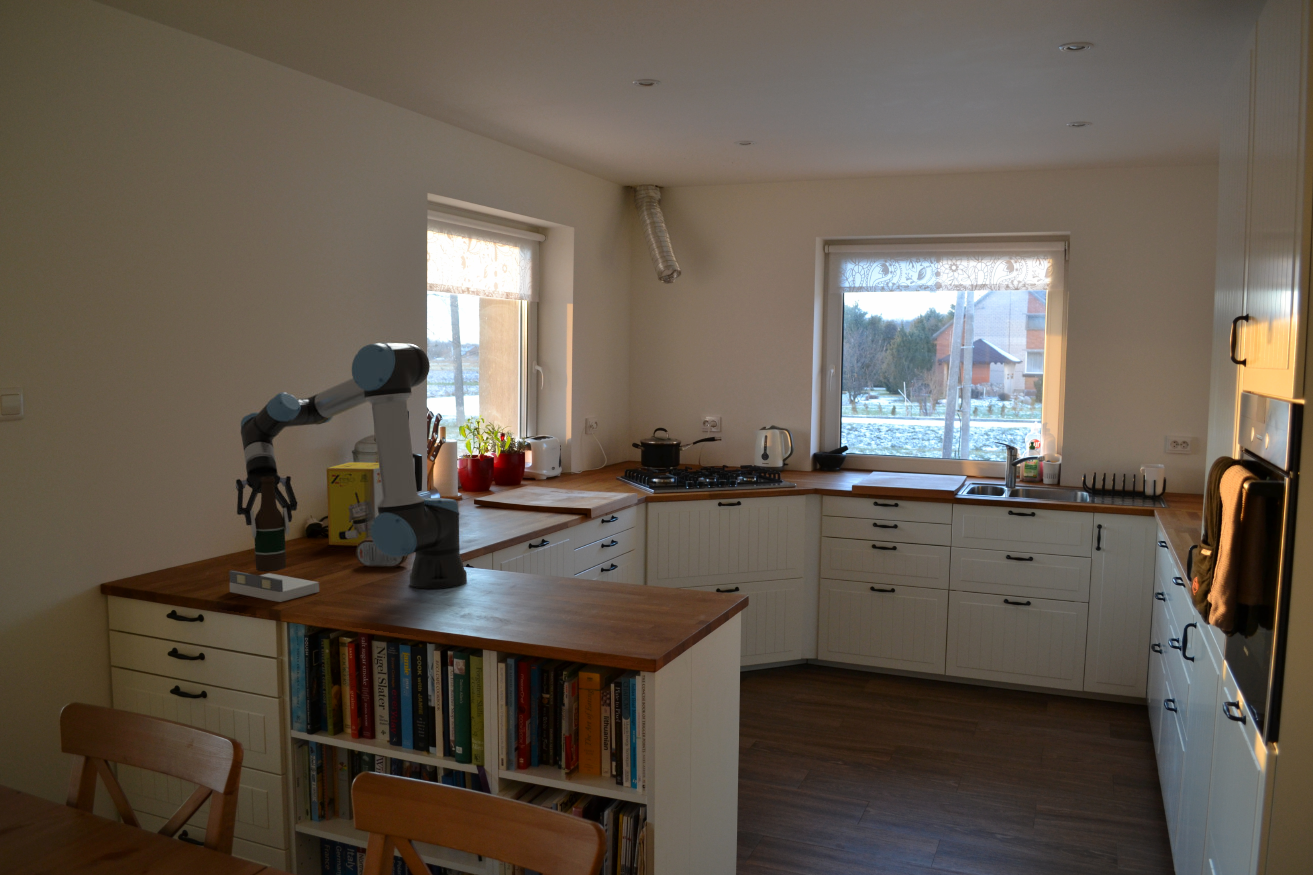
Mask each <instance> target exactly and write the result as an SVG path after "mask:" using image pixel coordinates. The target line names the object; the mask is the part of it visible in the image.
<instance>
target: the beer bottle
mask: <svg viewBox="0 0 1313 875" xmlns="http://www.w3.org/2000/svg"><path fill="white" fill-rule="evenodd" d="M260 482H261V483H262V488H261V493H260V494H261V495H260V496H261V497H260V498H261V499H260V506H259V509H258V511H257V512H256V514H255V516H254V518H255V525H256V537H254V554H255V555H254V556H255V557H254V561H255V568H256V571H257V572H264V573H267V572H268V573H269V572H277V571H281V570H284V569H286V566H287V565H286V563H287V558H286V557H287V556H286V533H285V525H284V519H283V513H282V512H281V511H280V509H279V508H278V505H277V500H276V497H275V487H274V482H275V478H274V477H271V476H267V477H262V478H261V480H260Z"/></svg>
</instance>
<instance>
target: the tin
mask: <svg viewBox="0 0 1313 875" xmlns="http://www.w3.org/2000/svg"><path fill="white" fill-rule="evenodd" d="M355 556H356V559H357V561H358V562H359V563H360V564H361V565H362V566H364V567H368V568H397V567H399V566H401V565H403V564H405V562H406V561H407V558H408V556H409V555H407V556H400V557H391V556H388V555H385V554H384V553H382V551H381V550H379V549H378V548H377V547H376V545H375V544H374V542H373V539H372V537H370V538H366V539H364V540H363V541H361V542H360V543H359V544H358V546H356V549H355Z"/></svg>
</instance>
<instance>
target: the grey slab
mask: <svg viewBox="0 0 1313 875" xmlns="http://www.w3.org/2000/svg"><path fill="white" fill-rule="evenodd" d="M228 572H229V592H230V593H233V594H238V595H239V594H240V595H242V596H248V597H253V598H258V599H261V600H267V601H271V602H273V601H274V602H278V603H283V602H285V601H289V600H293V599H297V598H302V597H305V596H309V595H312V594H317V593H319V592H320V583H319V581H312V580H308V579H303V578H297V577H292V576H286V575H281V574H276V573H269V572H268V573H265V574H260V575H259V574H253V573H247V572H242V571H238V570H237V571H236V570H229V571H228Z"/></svg>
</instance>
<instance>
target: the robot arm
mask: <svg viewBox="0 0 1313 875" xmlns="http://www.w3.org/2000/svg"><path fill="white" fill-rule="evenodd" d="M430 368H431V367H430V360H429V356H427V354H426V352H425V351H424V350H423V349H422V348H421V347H420V346H417V345H415V344H412V343H404V342H403V343H402V342H401V343H400V342H399V343H398V342H397V343H395V342H377V343H369V344H367V345H364V346H362V347H361V348H360V349H359V350H358V352H357V353H356V354H355V355H354V358H353V360H352V362H351V376H352V378H350V379H348V380H345V381H343V382H341V383H338V384H336V385H333V386H332V387H329V388H327V389H325V390H323V391H321V392H319V393H317V394H315V395H312V396H309V397H306V398H297V397H296V396H294V395H293V394H291V393H287V392H278V393H277V394H276V395H275V396H274V397H273V398H271V399H269V401H268V402H267V403H266V404H265V406H263V408H262V409H261V410H260V411H259V412H251V413H249V414H246V415H245V416H243V417H242V419H241V420H240V435H241V440H242V442H241V443H242V448H243V452H244V453H243V455H244V461H245V470H246V476H247V477H246V479H242V480H241V479H240V478H237V479H236V480H235V489H236V490H237V505H236V506H237V508H236V515H238V516H241V515H243V516H244V518H245V525H246V526H250V529H251V536H252V538H255V537H256V525H255V513H254V510H253V507H254V504H255V501H256V500H257V497H258V494H261V488H262V483H261V482H260V480H261V478H262V477H267V476H271V477H274V478H275V482H274V487H275V497H276V502H277V503H278V504H279V505H280V507H281V508H282V516H283V519H284V525H285V535H289V534H290V529H291V528H290V523H292V521H293V514H292V512H293V511H294V512H295V511H297V510H298V501H297V498H296V495H295V492H294V490H293V487H292V484H291V481H292V480H291V479H292V477H291V476H289V475H287V476H285V477H281V476H280V475H279V474H278V473H279V472H278V468H277V467H278V466H277V462H276V453H275V449H274V444H273V441H274V439H275V438H276V437H277V436H278V435H279V434H280V433H281V432H282V431H283V430H284V429H286V428H291V427H298V426H299V427H301V426H309V425H311V426H312V425H316V426H317V425H318V426H319V425H321V424H325V423H329V422H330V421H331V420H332V419H333V417H335V416H337V415H340V414H343V413H344V412H347V411H349V410H352V409H354V408H356V407H358V406H360V405H364V404H366V403H370V405H371V411H372V418H373V427H374V436H375V443H376V452H377V460H378V462H377V463H379V470H380V479H381V487H382V496H383V498H382V500H381V501H380V502H379V504H378V505H377V506H378V516H377V517H376V518H375V519H374V522H373V523H372V525H371V536H372V539H373V542H374V544H375V545H376V547H377V548H378V549H379V550H381V551H382V553H384V554H385V555H388V556H391V557H400V556H407V555H408V556H409V555H412V554H414V553H415V556H414V561H413V564H412V568H411V572H410V574H409V585H410V586H411V587H412V588H416V589H424V590H439V589H449V588H454V587H459V586H462V585H464V584H466V583H467V581H468V574H467V570H465V567H464V563H463V560H462V556H461V553H460V511H459V502H458V501H457V500H456V499H453V498H452V499H451V498H442V497H438V498H437V497H421V495H419V494H418V488H417V481H416V474H415V472H416V471H415V464H414V456H413V447H412V446H413V445H412V438H411V431H410V430H411V428H410V422H409V412H408V404H407V401H408V399H409V398H410V396H412V388H415V387H417V386H420V385H421V384H422V383H424V381H425V380H426V379H427V378H428V376H429V373H430ZM280 483H281V485H282V486H283V487H284V489H285V493H286V496H287V498H286V497H285V496H284V494H283V493H282V491H281V490H280V489H279V486H278V485H279V484H280ZM246 485H247V486H248V487H249V488H251V491H250V495H249V498H248V501H247V503H246V506H245V507H244V506H243V504H244V503H243V501H244V490H245V488H246ZM287 499H288V500H287Z"/></svg>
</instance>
